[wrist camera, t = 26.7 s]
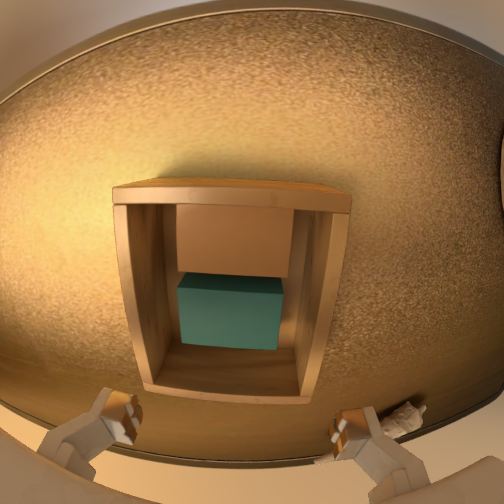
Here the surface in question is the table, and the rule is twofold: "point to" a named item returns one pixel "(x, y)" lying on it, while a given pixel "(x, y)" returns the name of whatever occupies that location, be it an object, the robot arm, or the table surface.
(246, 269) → the tan rectangular block
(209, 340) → the teal rectangular block
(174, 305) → the holder
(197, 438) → the table surface
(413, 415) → the seashell
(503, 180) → the bowl
